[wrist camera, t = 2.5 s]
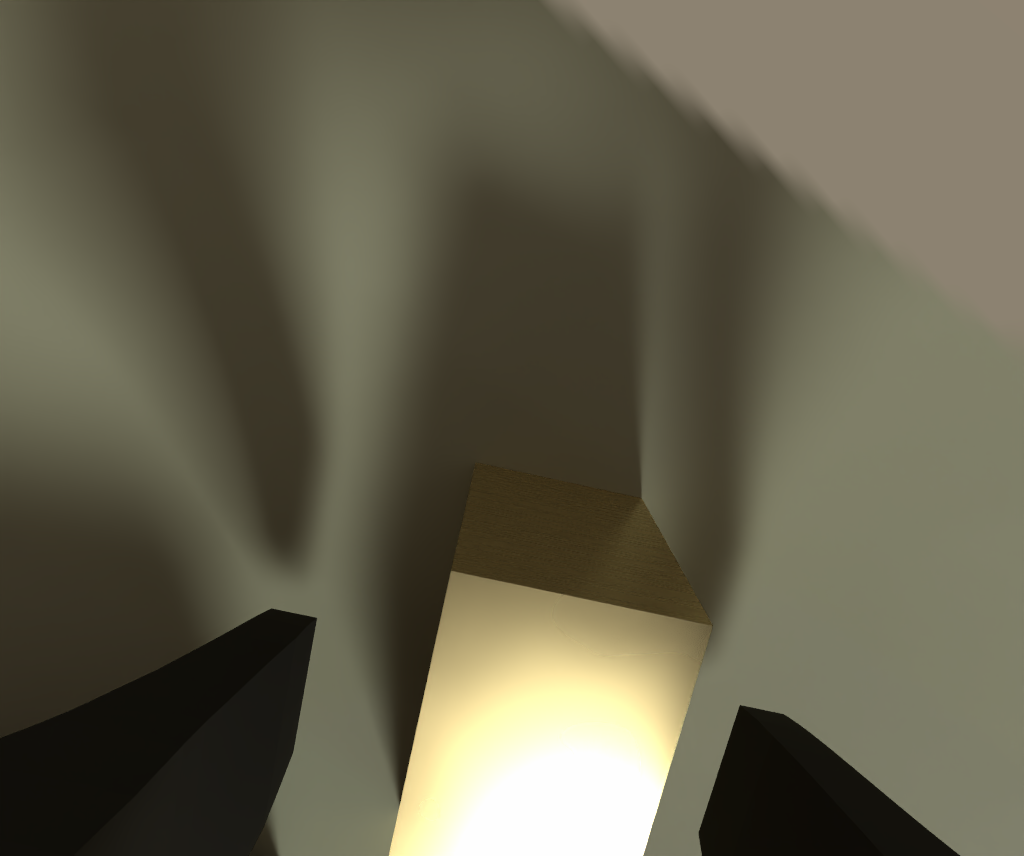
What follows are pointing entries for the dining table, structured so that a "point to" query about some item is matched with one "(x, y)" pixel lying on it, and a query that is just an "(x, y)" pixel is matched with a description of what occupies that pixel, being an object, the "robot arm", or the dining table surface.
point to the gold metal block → (551, 677)
